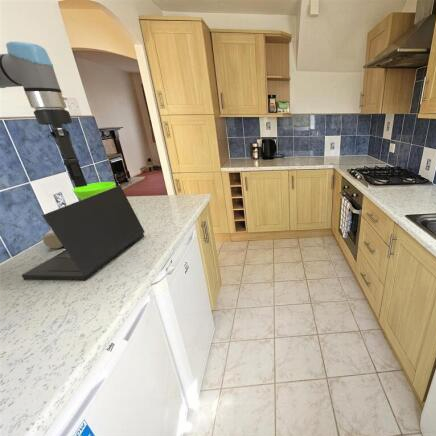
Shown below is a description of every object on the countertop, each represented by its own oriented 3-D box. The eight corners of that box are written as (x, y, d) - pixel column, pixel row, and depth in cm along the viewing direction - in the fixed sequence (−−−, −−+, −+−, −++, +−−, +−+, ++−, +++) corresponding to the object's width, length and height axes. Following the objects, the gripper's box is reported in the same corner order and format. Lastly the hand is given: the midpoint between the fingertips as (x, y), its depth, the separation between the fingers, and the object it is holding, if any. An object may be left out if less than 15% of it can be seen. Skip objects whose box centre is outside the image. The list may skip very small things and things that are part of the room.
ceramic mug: (45, 251, 94) (37, 233, 90) (56, 242, 101) (48, 225, 98) (79, 246, 97) (71, 229, 94) (86, 237, 104) (80, 221, 101)
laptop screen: (41, 215, 67) (44, 214, 67) (118, 185, 95) (120, 185, 95) (83, 276, 75) (85, 275, 75) (143, 232, 103) (145, 232, 103)
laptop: (23, 279, 77) (20, 274, 77) (97, 236, 105) (96, 232, 104) (85, 280, 76) (83, 275, 75) (144, 236, 103) (143, 232, 103)
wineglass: (128, 213, 129) (118, 180, 122) (124, 224, 115) (112, 188, 108) (92, 219, 123) (78, 184, 115) (82, 231, 109) (67, 193, 102)
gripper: (72, 107, 63) (100, 187, 71) (64, 110, 79) (88, 174, 88) (31, 108, 58) (66, 193, 66) (32, 110, 74) (60, 178, 83)
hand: (79, 182), depth 77 cm, fingers open, 13 cm apart
